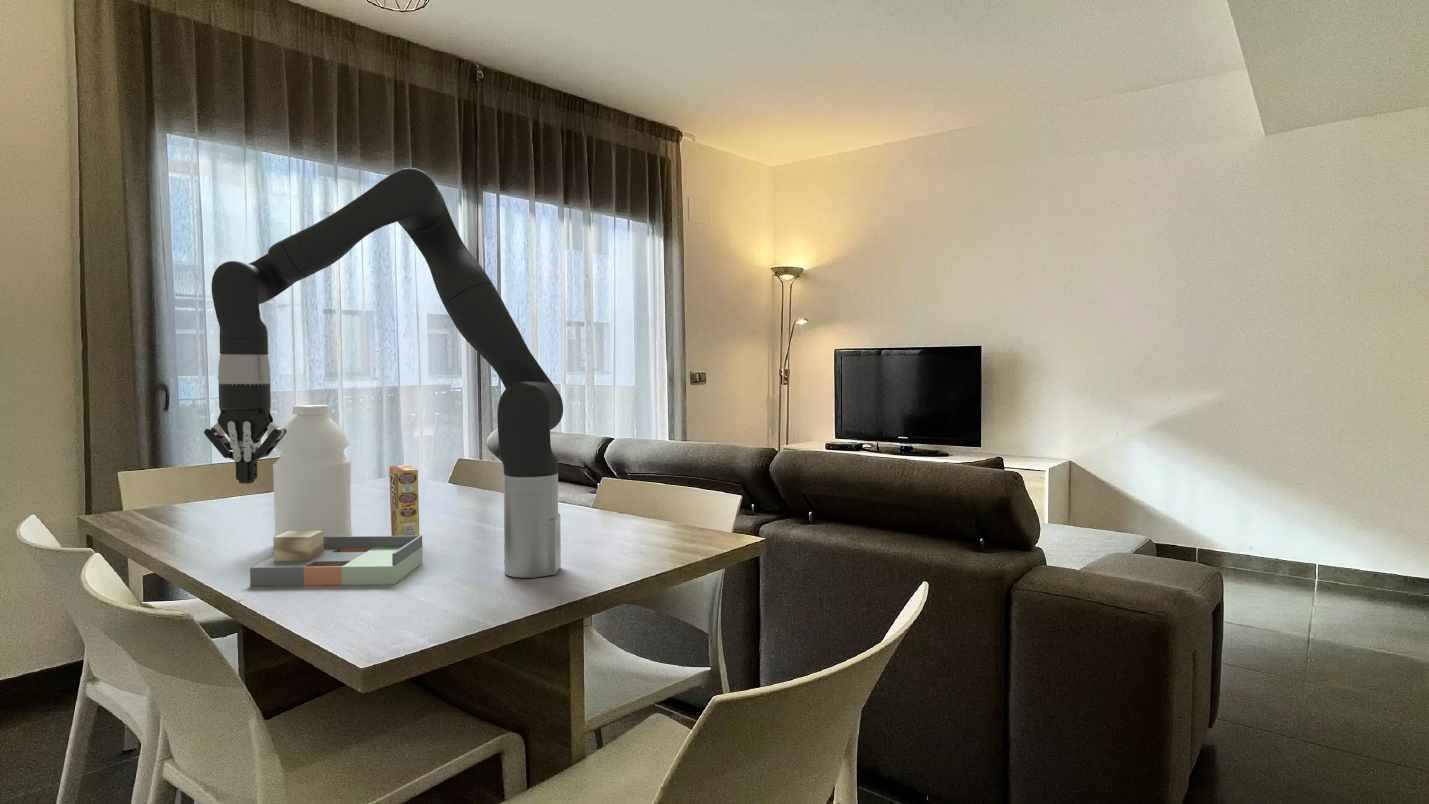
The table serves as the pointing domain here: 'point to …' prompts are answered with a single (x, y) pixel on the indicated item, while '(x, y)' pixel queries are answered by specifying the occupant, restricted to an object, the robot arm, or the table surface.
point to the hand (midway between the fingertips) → (246, 482)
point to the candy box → (404, 501)
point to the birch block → (298, 545)
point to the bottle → (312, 475)
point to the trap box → (346, 563)
